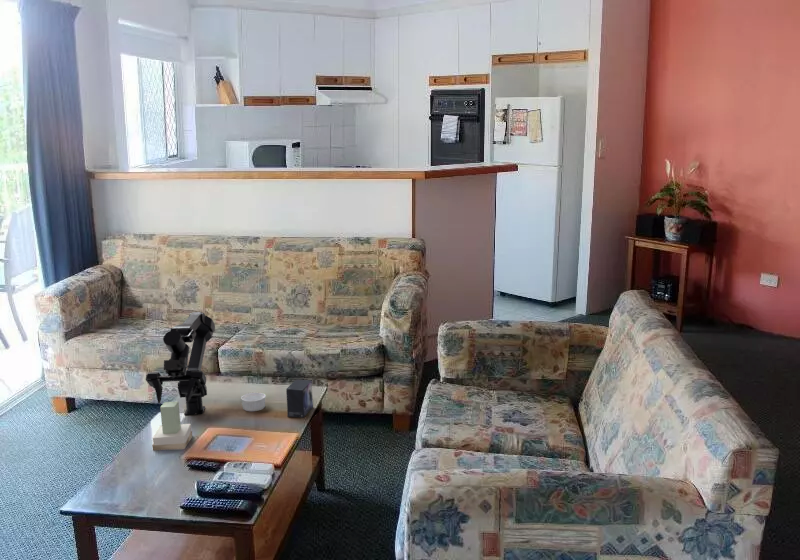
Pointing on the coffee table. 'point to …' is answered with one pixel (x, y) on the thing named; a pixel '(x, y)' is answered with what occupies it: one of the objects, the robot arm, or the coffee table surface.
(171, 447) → the tower base slab
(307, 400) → the small box
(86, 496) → the coffee table surface
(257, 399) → the ramekin
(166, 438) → the tower top slab
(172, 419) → the sage block
